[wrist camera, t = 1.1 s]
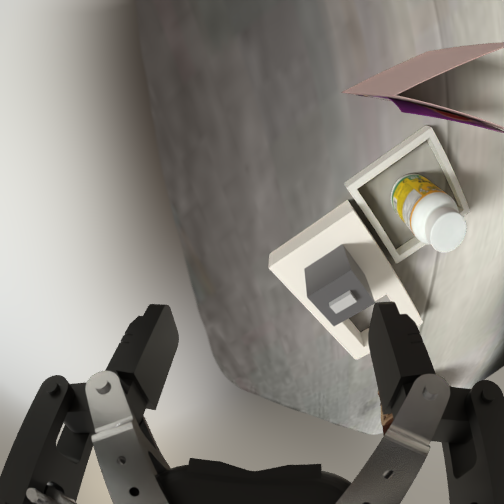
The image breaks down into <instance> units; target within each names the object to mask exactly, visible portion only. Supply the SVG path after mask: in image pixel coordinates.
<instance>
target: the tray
mask: <svg viewBox="0 0 504 504" xmlns="http://www.w3.org/2000/svg"><path fill="white" fill-rule="evenodd" d="M426 140H427V142H428V143H429V145H430V147H431V149H432V151H433V153H434V155H435V157H436V159H437V161H438V163H439V165H440V167H441V169H442V171H443V173H444V175H445V177H446V179H447V181H448V183H449V185H450V188H451V190H452V192H453V194H454V197H455V199H456V201H457V204H458V206H457V207H458V211H459V213H460V214H461V215H462V216H463V217H464V216H466V215H467V214H468V213H470V209H469V206H468V204H467V201H466V199H465V196H464V194H463V191H462V189H461V187H460V184H459V182H458V180H457V177H456V175H455V173H454V171H453V168H452V166H451V164H450V162H449V160H448V158H447V156H446V154H445V152H444V150H443V148H442V146H441V144H440V142H439V140H438V138H437V136H436V134H435V133H434V131H433V129H432V127H429V126H426V125H425V126H424V127H423V128H421V129H420V130H418V131H417V132H415V133H414V134H413V135H411V136H410V137H408V138H407V139H406V140H404V141H403V142H401V143H400V144H398V145H397V146H396V147H394V148H393V149H391V150H390V151H389V152H387V153H386V154H384V155H383V156H382V157H380V158H379V159H377V160H376V161H374V162H373V163H372V164H370V165H369V166H367V167H366V168H365V169H363V170H362V171H360V172H359V173H358V174H356V175H355V176H353V177H352V178H350V179H349V180H348V181H346V182H345V183H344V185H345V186H346V188H347V189H348V191H349V192H350V193H351V195H352V196H353V198H354V199H355V201H356V202H357V204H358V205H359V206H360V208H361V209H362V211H363V212H364V214H365V215H366V217H367V218H368V220H369V221H370V223H371V224H372V226H373V227H374V229H375V230H376V232H377V233H378V235H379V237H380V238H381V240H382V241H383V243H384V244H385V246H386V248H387V249H388V251H389V252H390V254H391V256H392V257H393V259H394V261H395V262H396V264H397V263H399V262H400V261H402V260H403V259H405V258H406V257H408V256H409V255H411V254H412V253H414V252H415V251H417V250H418V249H420V248H421V247H423V246H424V245H426V244H425V243H423V242H421V241H420V240H418V239H417V238H416V236H415V237H413V238H412V239H410V240H409V241H407V242H406V243H405V244H403V245H402V246H400V247H399V248H397V249H395V248H394V246H393V244H392V243H391V241H390V240H389V238H388V236H387V235H386V233H385V231H384V230H383V228H382V227H381V225H380V223H379V222H378V220H377V219H376V217H375V216H374V214H373V213H372V211H371V210H370V208H369V207H368V205H367V204H366V202H365V201H364V199H363V198H362V196H361V195H360V193H359V192H358V190H357V189H358V188H359V187H361V186H362V185H364V184H365V183H366V182H368V181H369V180H371V179H372V178H374V177H375V176H376V175H378V174H379V173H381V172H382V171H383V170H385V169H386V168H388V167H389V166H391V165H392V164H393V163H395V162H396V161H398V160H399V159H400V158H402V157H403V156H405V155H406V154H407V153H409V152H410V151H412V150H413V149H414V148H416V147H417V146H419V145H420V144H421V143H423V142H424V141H426Z"/></svg>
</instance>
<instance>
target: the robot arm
mask: <svg viewBox="0 0 504 504" xmlns="http://www.w3.org/2000/svg"><path fill="white" fill-rule="evenodd" d="M419 333H420V332H419V330H418V328H417V325H416V323H415V322H414V321H413V320H412V319H411V318H410V317H409V316H408V315H407V314H400V313H399V311H398V308H397V306H396V303H395V302H378V303H375V305H374V308H373V313H372V318H371V323H370V327H369V332H368V344H369V349H370V354H371V358H372V362H373V367H374V371H375V376H376V380H377V385H378V390H379V395H380V400H381V405H382V411H383V415H384V414H391V413H392V415H393V422H392V424H391V426H390V427H389V429H388V430H387V432H386V434H385V435H384V437H383V438H382V440H381V442H380V443H379V445H378V446H377V448H376V450H375V451H374V453H373V454H372V455H371V457H370V458H369V460H368V461H367V463H366V464H365V466H364V467H363V469H362V470H361V471H360V473H359V474H358V475H357V477H356V478H355V479H354V481H353V482H352V483H351V482H349V481H348V480H346V479H344V478H343V477H340V476H338V475H336V474H333V473H329V472H325V471H321V464H310V465H286V466H281V467H276V468H272V469H266V470H261V471H249V470H245V469H242V468H239V467H235V466H232V465H229V464H226V463H223V462H219V461H210V460H202V459H194V458H190V460H189V465H184V466H179V467H175V468H170V466H169V465H168V463H167V462H166V460H165V459H164V457H163V456H162V454H161V452H160V450H159V448H158V446H157V444H156V442H155V440H154V438H153V435H152V433H151V431H150V429H149V426H148V424H147V422H146V420H145V417H144V416H143V414H144V411H145V409H146V408H147V409H152V410H156V407H157V404H158V401H159V398H160V395H161V392H162V389H163V387H164V384H165V381H166V378H167V375H168V372H169V369H170V367H171V364H172V361H173V358H174V355H175V352H176V350H177V347H178V342H179V335H178V331H177V327H176V324H175V322H174V318H173V315H172V312H171V309H170V307H169V306H168V305H159V304H158V305H157V304H150V305H149V306H148V308H147V310H146V311H145V313H144V315H143V316H138V317H137V318H136V319H135V320H134V321H133V322H132V323H130V325H129V327H128V329H127V330H126V332H125V335H124V336H123V338H122V340H121V343H119V345H118V347H117V349H116V351H115V353H114V355H113V357H112V359H111V361H110V363H109V364H108V367H107V368H106V370H105V371H101V372H98V373H96V374H94V375H93V376H92V377H90V379H89V380H88V381H87V383H78V384H69V383H68V381H67V380H66V379H65V378H64V377H63V376H60V375H55V376H52V377H49V378H48V379H46V380H45V381H44V382H43V383H42V385H41V387H40V389H39V391H38V393H37V394H36V396H35V399H34V400H33V403H32V404H31V407H30V409H29V411H28V413H27V415H26V417H25V419H24V421H23V423H22V426H21V428H20V430H19V432H18V434H17V437H16V439H15V441H14V444H13V446H12V448H11V451H10V453H9V456H8V458H7V461H6V463H5V466H4V469H3V471H2V474H1V476H0V504H77V503H76V500H77V496H78V493H79V489H80V486H81V482H82V479H83V476H84V472H85V469H86V465H87V463H88V460H89V456H90V453H91V450H92V447H93V446H94V450H95V453H96V456H97V459H98V463H99V466H100V469H101V472H102V474H103V477H104V480H105V483H106V486H107V489H108V491H109V494H110V496H111V499H112V502H113V504H400V503H401V501H402V499H403V498H404V496H405V495H406V493H407V491H408V490H409V488H410V486H411V485H412V483H413V481H414V479H415V478H416V476H417V474H418V472H419V470H420V468H421V467H422V465H423V463H424V461H425V459H426V457H427V455H428V453H429V450H430V446H429V444H430V442H431V441H437V442H442V446H443V452H444V458H445V465H446V472H447V480H448V489H449V500H450V504H504V396H503V393H502V391H501V389H500V388H499V387H498V385H496V384H495V383H494V382H492V381H489V380H482V381H479V382H477V383H476V384H475V385H474V386H473V388H472V389H465V388H455V387H451V386H449V385H448V383H447V382H446V380H445V379H443V378H442V377H440V376H438V375H436V373H435V371H434V368H433V366H432V363H431V360H430V358H429V355H428V352H427V350H426V347H425V345H424V343H423V340H422V337H421V335H420V334H419ZM63 423H64V424H65V426H64V428H63V431H62V434H61V436H60V439H59V441H58V444H57V446H56V439H57V437H58V434H59V432H60V429H61V427H62V425H63Z"/></svg>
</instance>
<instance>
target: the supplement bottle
mask: <svg viewBox="0 0 504 504" xmlns="http://www.w3.org/2000/svg"><path fill="white" fill-rule="evenodd" d="M391 203H392V206H393V208H394V210H395V212H396V213H397V214H398V215H399V217H400V218H401V219H402V220H403V221H404V223H405V224H406V225H407V226H408V228H409V229H410V230H411V231H412V233H413V234H414V235H415V236H416V238H417V239H418V240H420V241H421V242H423V243H425V244H428V245H432V247H433V248H434V249H435V250H437V251H439V252H443V253H445V252H450V251H452V250H454V249H456V248H457V247H458V246H459V245H460V244H461V243H462V241H463V239H464V237H465V234H466V230H467V225H466V221H465V219H464V217H463V216H462V215H461V214H460V213H459V211H458V207H457V205H456V203H455V201H454V200H453V199H452V198H451V197H450V196H449V195H448V194H447V193H445V192H444V191H442V190H441V189H440V188H439V187H437V186H436V185H434V184H433V183H432V182H430V181H429V180H428V179H426V178H425V177H423V176H421V175H419V174H408V175H405V176H403V177H401V178H400V179H398V180H397V182H396V183H395V185H394V186H393V189H392V191H391Z"/></svg>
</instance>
